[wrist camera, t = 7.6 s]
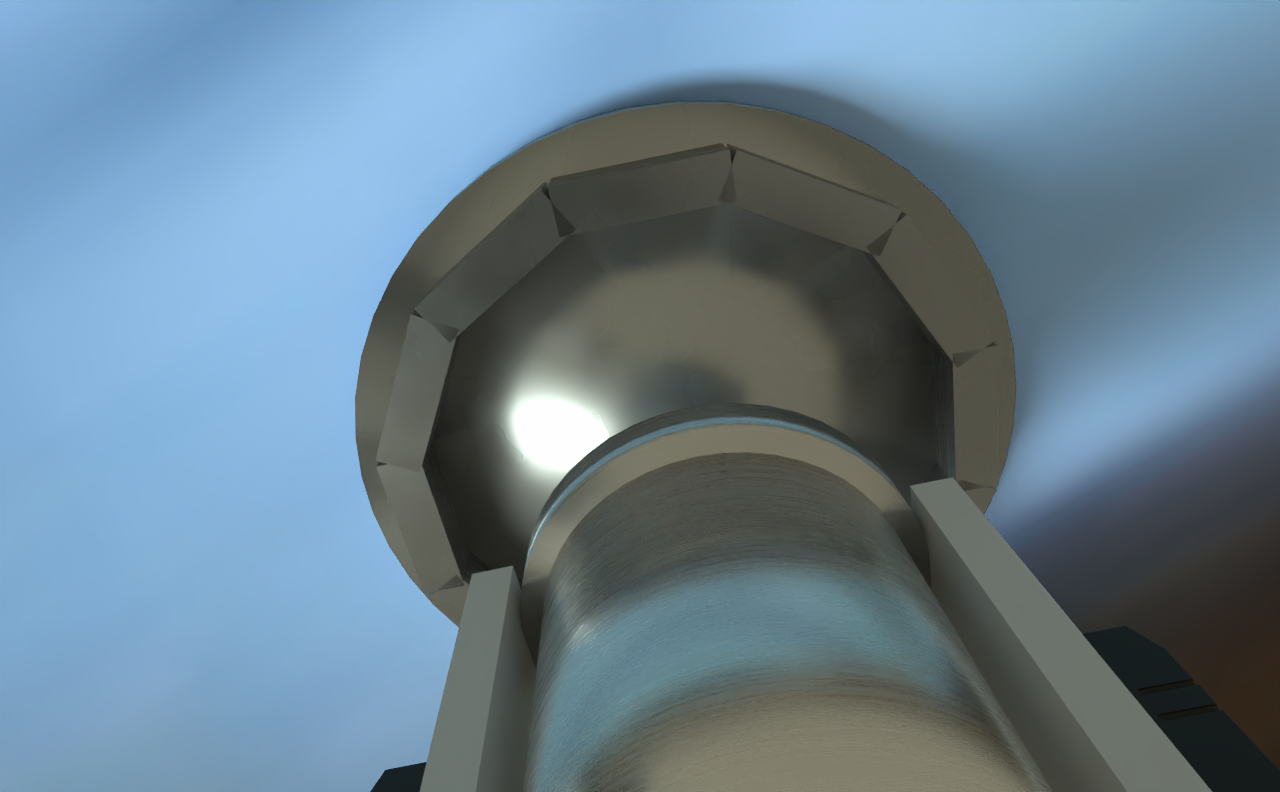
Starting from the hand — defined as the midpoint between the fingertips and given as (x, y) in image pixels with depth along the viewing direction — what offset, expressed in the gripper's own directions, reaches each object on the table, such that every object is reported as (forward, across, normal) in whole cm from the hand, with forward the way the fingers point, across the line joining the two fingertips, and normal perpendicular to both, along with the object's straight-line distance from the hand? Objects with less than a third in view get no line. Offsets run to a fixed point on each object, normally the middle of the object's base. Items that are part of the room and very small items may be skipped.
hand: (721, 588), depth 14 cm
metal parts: (+6, 0, -4) cm, 8 cm away
